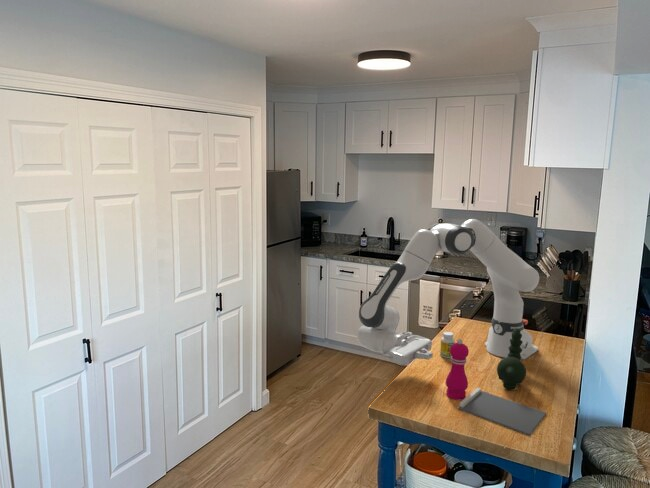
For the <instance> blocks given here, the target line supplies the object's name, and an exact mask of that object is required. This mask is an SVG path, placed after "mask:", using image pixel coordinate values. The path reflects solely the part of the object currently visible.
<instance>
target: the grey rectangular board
mask: <svg viewBox="0 0 650 488" xmlns="http://www.w3.org/2000/svg"><path fill="white" fill-rule="evenodd" d="M457 408H458V410H459V411H462V412H465V413H467V414H469V415H473V416H475V417H478V418H480V419H483V420H486V421H489V422H491V423H494V424H495V425H500V426H502V427H505V428H506V429H507V428H508V429H509V430H510V429H511V430H513V431H515V432H518V433H521V434H524V435H525V436H528V437H529V436H531V435H532V434H533V432H534V430H535V429H536V428H537V427H538V425H540V423H541V421H542V420H543V419H544V418H545V416H546V415H547V412H545V411H543V410H540V409H537V408H534V407H532V406H528V405H525V404H522V403H519V402H517V401H513V400H510V399H507V398H504V397H501V396H498V395H496V394H494V393H493V394H492V393H489V392H486V391H483V390H481V392H480V393H479V394H478V395H477V396H476V397H474V398H473V399H472V400H471V401H470V402H469V403H468V404H467V405H465V406H464V407H460V405H459V406H458V407H457Z"/></svg>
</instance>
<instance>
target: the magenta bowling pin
mask: <svg viewBox="0 0 650 488" xmlns="http://www.w3.org/2000/svg"><path fill="white" fill-rule="evenodd" d="M450 354H451V355H452V356H451V358H450V362H451V367H450V370H449V372H448V374H447V376H446V378H445V385H446V393H445V394H446V396H447V397H448V398H450V399H451V400H456V401H461V400H462V401H463V400H464V399H465V398H466V397H467V396H466V395H467V392H466V390H467V389H468V388H469V387H468V386H469V383H468V382H469V381H468V377H467V375H466V371H465V364H467V357H468V356H469V348H468V346H467V345H466V344H464V342H463V339H462V338H461V339H460V338H459V339H457V341H456V342H455V343H454V344H453V345H452V346H451V347H450Z"/></svg>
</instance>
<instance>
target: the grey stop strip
mask: <svg viewBox="0 0 650 488" xmlns="http://www.w3.org/2000/svg"><path fill="white" fill-rule="evenodd" d="M481 391H482V388H480V387H476V388H475V389H474V390H473V391H471V392H470V393H469V394H468V395H467V396H465V398H464V399H462V401H461V400H460V402H459V406H460V407H464V406H465V405H467V404H468V403H469V402H470V401H471V400H472V399H473V398H474V397H476V396H477V395H478V394H479V393H480V392H481Z"/></svg>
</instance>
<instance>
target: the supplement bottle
mask: <svg viewBox="0 0 650 488" xmlns="http://www.w3.org/2000/svg"><path fill="white" fill-rule="evenodd" d="M442 333H443V334H442V337H441V338H440V350H439V351H440V352H439V353H440V354H439V355H440V356H441V357H442V358H444V359H451V356H452V355H451V354H450V347H451V346H452V345H453V344H454V343H456V341H455V339H454V333H453V332H451V331H443V332H442Z"/></svg>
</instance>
